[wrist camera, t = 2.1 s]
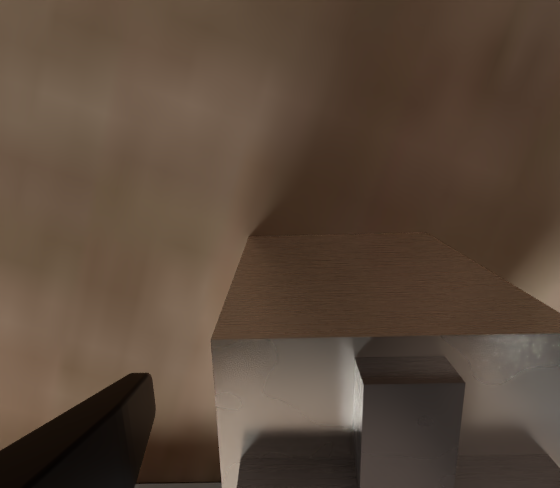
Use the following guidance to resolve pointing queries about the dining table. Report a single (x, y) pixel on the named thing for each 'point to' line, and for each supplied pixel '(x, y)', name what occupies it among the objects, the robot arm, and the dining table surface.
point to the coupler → (383, 369)
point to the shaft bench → (180, 485)
